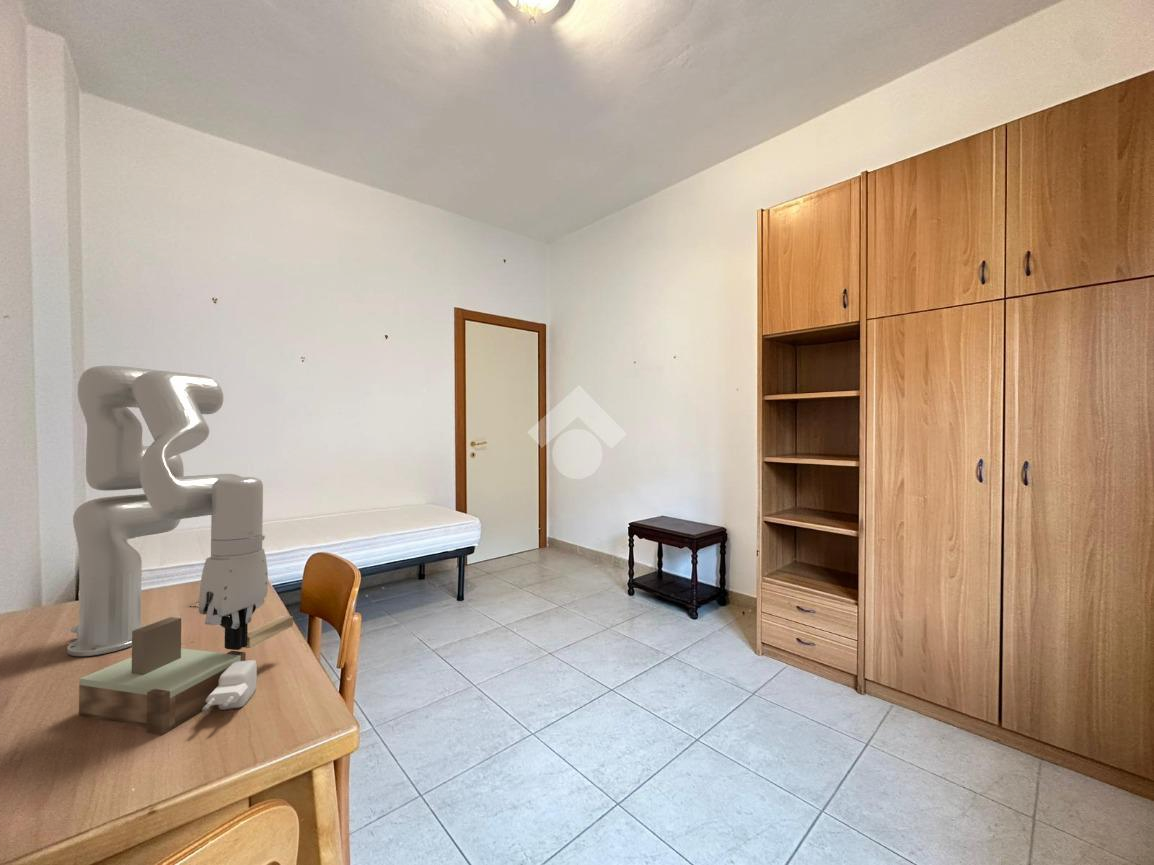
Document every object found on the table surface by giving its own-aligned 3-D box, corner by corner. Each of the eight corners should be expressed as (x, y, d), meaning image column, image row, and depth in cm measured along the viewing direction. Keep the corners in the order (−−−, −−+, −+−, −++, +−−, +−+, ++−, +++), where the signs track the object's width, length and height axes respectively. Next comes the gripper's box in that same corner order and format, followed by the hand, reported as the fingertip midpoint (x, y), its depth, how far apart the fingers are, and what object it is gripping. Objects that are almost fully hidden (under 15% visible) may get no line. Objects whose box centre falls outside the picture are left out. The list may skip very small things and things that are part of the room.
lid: (79, 684, 75) (79, 635, 75) (159, 650, 87) (159, 608, 87) (169, 698, 71) (170, 646, 71) (240, 660, 83) (241, 616, 83)
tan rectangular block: (238, 646, 86) (238, 636, 86) (282, 625, 96) (282, 615, 96) (249, 648, 85) (249, 637, 85) (292, 626, 95) (293, 616, 95)
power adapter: (231, 728, 72) (231, 690, 72) (194, 733, 71) (195, 694, 71) (261, 690, 83) (261, 657, 83) (229, 693, 82) (230, 660, 82)
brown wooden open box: (70, 719, 74) (71, 681, 74) (164, 675, 88) (165, 642, 88) (162, 735, 70) (162, 694, 70) (245, 685, 84) (245, 652, 84)
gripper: (255, 536, 92) (254, 628, 92) (177, 555, 77) (175, 665, 77) (288, 538, 91) (287, 632, 90) (214, 557, 76) (213, 670, 76)
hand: (235, 647), depth 84 cm, fingers closed
